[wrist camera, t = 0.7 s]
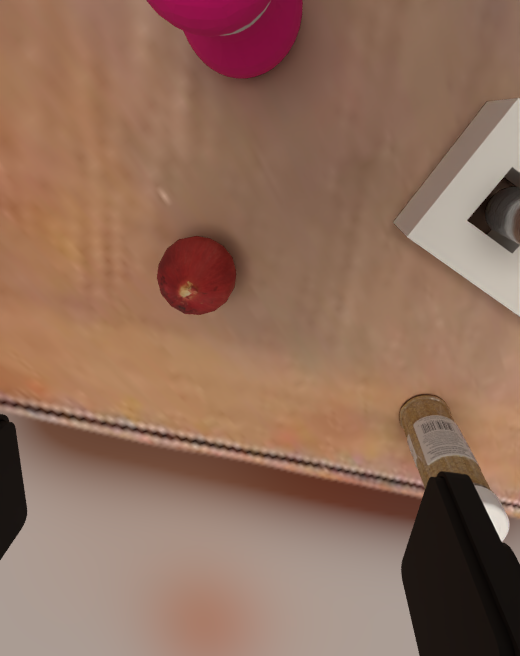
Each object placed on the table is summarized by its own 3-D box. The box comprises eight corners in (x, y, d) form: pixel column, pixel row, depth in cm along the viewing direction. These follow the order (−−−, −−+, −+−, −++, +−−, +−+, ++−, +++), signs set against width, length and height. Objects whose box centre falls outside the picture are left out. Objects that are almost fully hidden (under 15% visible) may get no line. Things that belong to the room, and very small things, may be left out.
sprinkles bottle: (392, 429, 44) (430, 550, 31) (406, 388, 42) (451, 499, 29) (441, 437, 44) (497, 561, 31) (456, 397, 42) (522, 511, 29)
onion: (219, 307, 40) (201, 349, 33) (159, 273, 39) (128, 308, 32) (253, 251, 38) (243, 282, 30) (191, 213, 37) (164, 236, 29)
